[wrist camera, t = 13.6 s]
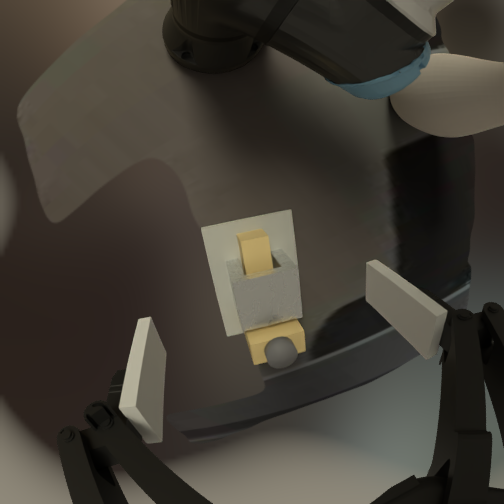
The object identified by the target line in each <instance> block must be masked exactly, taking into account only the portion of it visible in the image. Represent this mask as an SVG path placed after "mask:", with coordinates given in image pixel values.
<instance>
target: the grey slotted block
mask: <svg viewBox="0 0 504 504" xmlns="http://www.w3.org/2000/svg"><path fill="white" fill-rule="evenodd" d="M271 257H272V264H273V269H269V270H265V271H260V272H256V273H252V274H247V275H244V273H243V270H242V268H241V265H240V263H239V261H238V258H236V259H232V260H227V261H226V266H227V271H228V275H229V280H230V285H231V289H232V294H233V299H234V303H235V307H236V311H237V314H238V317H239V321H240V324H241V328H242V331H243V332H244V331H248V330H252V329H256V328H261V327H265V326H269V325H272V324H276V323H280V322H284V321H288V320H291V319H295V318H299V317H302V304H301V292H300V281H299V271H298V267H297V266H296V265H295V263H294V262H293V261H292V260H291V259H290V258H289V257H288V256H287V254H286V253H285V252H284V251H283V250H282V249H277V250H273V251H271Z"/></svg>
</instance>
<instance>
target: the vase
mask: <svg viewBox="0 0 504 504" xmlns="http://www.w3.org/2000/svg"><path fill="white" fill-rule="evenodd" d="M420 72H421V74H420V75H419V76H418V78H417V79H416V80H415V81H413V82H412V83H411V84H410V85H408V86H407V87H405V88H404V89H402V90H401V91H399V92H397V93H395V94H392V95H390V101H391V104H392V106H393V108H394V110H395V112H396V113H397V114H398V115H399V117H400V118H401V119H402V120H404V121H405V122H406V123H408V124H409V125H411V126H413V127H414V128H416V129H418V130H420V131H423V132H425V133H428V134H431V135H435V136H441V137H461V136H467V135H471V134H475V133H478V132H482V131H485V130H488V129H491V128H495V127H498V126H502V125H504V63H503V62H494V61H488V60H482V59H477V58H473V57H468V56H462V55H455V54H443V53H440V54H431V55H430V60H429V62H428V64H427V66H426V68H423V69H421V70H420Z"/></svg>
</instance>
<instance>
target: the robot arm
mask: <svg viewBox="0 0 504 504" xmlns="http://www.w3.org/2000/svg"><path fill="white" fill-rule="evenodd" d="M452 1H454V0H171V8H170V9H169V11H168V13H167V14H166V17H165V19H164V22H163V29H162V33H163V39H164V43H165V46H166V49H167V51H168V52H169V54H170V55H171V56H172V57H173V58H174V59H175V60H176V61H177V62H178V63H180V64H181V65H183V66H184V67H186V68H189V69H191V70H194V71H198V72H203V73H222V72H228V71H231V70H234V69H237V68H239V67H241V66H243V65H245V64H246V63H248V62H249V61H250V60H252V59H253V58H254V57H255V56H256V54H257V53H258V52H259V50H260V49H261V47H262V46H263V44H266V45H268V46H270V47H272V48H274V49H276V50H278V51H280V52H281V53H283V54H285V55H287V56H289V57H291V58H293V59H294V60H296V61H298V62H300V63H301V64H303V65H305V66H307V67H308V68H310V69H312V70H313V71H315V72H317V73H318V74H320V75H321V76H323V77H324V78H325V80H327V81H328V82H329V83H331V84H333V85H336V86H339V87H341V88H342V89H344V90H346V91H347V92H349V93H350V94H352V95H354V96H356V97H359V98H364V99H370V100H371V99H380V98H384V97H387V96H390V95H392V94H395V93H397V92H399V91H401V90H402V89H404V88H405V87H407V86H408V85H410V84H411V83H412V82H413V81H415V80H416V79H417V78H418V76H419V75H420V74H421V72H420V70H421V69H423V68H426V66H427V64H428V62H429V60H430V55H431V49H430V46H429V43H428V40H429V39H430V38H432V37H433V36H434V35H436V25H435V17H436V13H437V12H439V11H440V10H441V9H443V8H444V7H445V6H447V5H448V4H450V3H451V2H452ZM366 301H367V302H368V303H369V304H370V305H372V306H373V307H374V308H375V309H376V310H377V311H378V312H379V313H380V314H381V315H382V316H383V317H384V318H385V319H386V320H387V321H388V322H389V323H390V324H391V325H392V326H393V327H394V328H395V329H396V330H397V331H398V332H399V333H400V334H401V335H402V336H403V337H404V338H405V339H406V340H407V341H408V342H409V343H410V344H411V345H412V346H413V347H414V348H415V349H416V350H417V351H418V352H419V353H420V354H421V355H422V356H423V357H424V358H425V359H426V360H427V359H429V358H431V357H433V356H434V355H436V354H437V351H438V348H439V345H440V346H441V347H442V348H443V353H442V356H441V359H440V362H439V365H440V364H441V362H442V381H441V382H442V383H441V399H440V411H439V420H438V429H437V437H436V443H435V449H434V455H433V460H432V464H431V467H430V469H429V472H428V474H427V476H426V477H421V478H417V479H416V477H415V476H414V475H413V476H411V477H409V478H407V479H406V480H404V481H402V482H400V483H398V484H396V485H394V486H393V487H391V488H390V489H388V490H387V491H386V492H385V493H383V494H382V495H381V496H380V497H378V498H377V499H376V500H375V501H373V502H372V503H370V504H504V489H500V488H493V487H489V479H490V468H491V456H492V434H491V432H487V431H486V403H485V385H484V380H485V383H486V386H487V389H488V392H489V395H490V398H491V401H492V404H493V408H494V411H495V414H496V418H497V422H498V425H499V429H500V433H501V437H502V442H503V446H504V310H503V308H502V307H501V306H500V305H499V304H497V303H494V302H488V303H486V304H484V306H483V310H482V312H479V313H475V314H473V313H472V312H471V311H469V310H466V309H458V310H455V309H454V308H452V307H451V306H449V305H448V304H447V303H445V302H444V301H443V300H441V299H440V298H439V297H437V296H435V295H434V294H433V293H432V292H430V291H429V290H426V289H423V288H419V289H418V288H416V287H415V286H413V285H412V284H411V283H409V282H408V281H406V280H405V279H404V278H402V277H401V276H399V275H398V274H397V273H395V272H394V271H392V270H391V269H389V268H388V267H386V266H385V265H384V264H382V263H381V262H379V261H378V260H372V261H369V262H366ZM493 341H494V342H493ZM165 365H166V351H165V349H164V347H163V344H162V342H161V340H160V337H159V335H158V333H157V330H156V328H155V326H154V324H153V321H152V318H151V317H147V318H142V319H139V320H138V324H137V327H136V331H135V335H134V339H133V343H132V348H131V352H130V356H129V360H128V365H127V369H125V370H118V371H117V372H116V373H115V375H114V376H113V378H112V381H111V385H110V386H111V387H110V389H109V393H108V398H107V402H105V401H101V400H100V401H95V402H93V403H91V404H90V405H89V406H87V408H86V409H85V411H84V418H85V421H86V422H87V423H88V424H89V425H90V426H91V428H88V429H85V430H82V431H79V429H78V428H76V427H75V426H66V427H64V428H63V429H61V430H60V432H59V433H58V435H57V444H58V449H59V454H60V458H61V462H62V467H63V471H64V475H65V478H66V482H67V486H68V489H69V492H70V496H71V499H72V502H73V504H128V502H127V500H126V498H125V496H124V494H123V492H122V490H121V487H120V485H119V483H118V481H117V479H116V477H115V474H114V472H113V470H112V467H111V466H112V465H116V464H120V465H121V466H122V467H123V468H124V470H125V471H126V472H127V473H128V474H129V475H130V477H131V478H132V479H133V480H134V481H135V482H136V483H137V484H138V485H139V486H140V487H141V489H143V491H144V492H145V493H146V494H147V495H148V496H149V497H150V498H151V499H152V500H153V501H154V502H155V503H156V504H213V503H211V502H210V501H208V500H207V499H206V498H205V497H203V496H202V495H200V494H199V493H198V492H197V491H195V490H194V489H193V488H192V487H190V486H189V485H188V484H187V483H185V482H184V481H183V480H182V479H181V478H180V477H178V476H177V475H176V474H175V473H174V472H173V471H172V470H170V469H169V468H168V467H167V466H166V465H165V464H163V462H162V461H161V460H159V459H158V458H157V457H156V456H155V455H154V454H153V453H152V452H151V451H150V450H149V449H148V448H147V447H146V446H145V445H144V444H143V443H142V442H141V441H142V438H143V439H144V440H145V441H146V443H156V442H162V428H163V399H164V379H165Z"/></svg>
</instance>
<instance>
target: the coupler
mask: <svg viewBox="0 0 504 504" xmlns="http://www.w3.org/2000/svg"><path fill="white" fill-rule="evenodd" d="M236 235H237V240H238V246H239V251H240V256H241V261H242V267H243V272H244V275H247V274H252V273H256V272H260V271H265V270H269V269H273V264H272V257H271V250H270V243H269V237H268V235H267V234H266V232H265V231H264V230H263V229H257V230H252V231H248V232H243V233H238V234H236ZM244 333H245V337H246V340H247V343H248V347H249V350H250V353H251V356H252V360H253V363H254V365H256V364H261V363H265V362H268V364H269V365H270V366H271V367H273V368H277V369H280V368H285V367H288V366H290V365H291V364H292V363H293V362H294V361H295V360H296V358H297V356H298V353H301V352H304V351H306V349H305V335H304V330H303V328H302V326H301V325H300V323H299V321H298V320H297V318H295V319H291V320H288V321H284V322H280V323H276V324H272V325H269V326H265V327H261V328H256V329H252V330H248V331H244Z"/></svg>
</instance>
